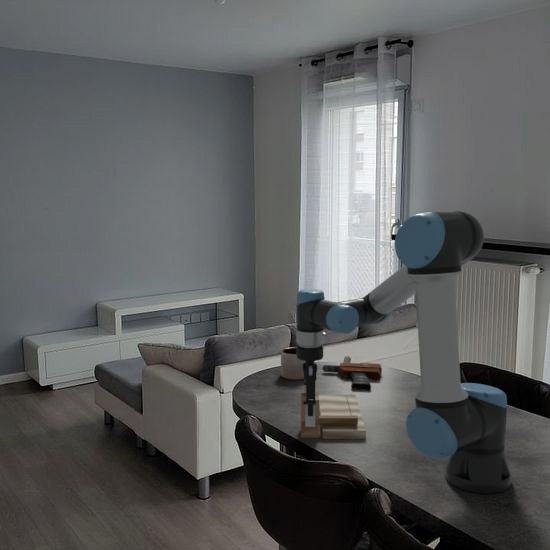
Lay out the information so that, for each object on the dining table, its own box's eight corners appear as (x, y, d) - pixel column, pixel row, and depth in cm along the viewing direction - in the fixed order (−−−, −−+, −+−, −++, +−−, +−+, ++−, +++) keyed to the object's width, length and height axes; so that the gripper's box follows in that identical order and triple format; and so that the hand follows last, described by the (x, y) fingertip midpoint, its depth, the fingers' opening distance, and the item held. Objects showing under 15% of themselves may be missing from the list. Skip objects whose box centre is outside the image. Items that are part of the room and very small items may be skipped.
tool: (380, 382, 220) (382, 354, 249) (301, 378, 225) (313, 351, 254) (379, 394, 220) (382, 365, 249) (301, 389, 226) (313, 361, 254)
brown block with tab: (358, 437, 181) (358, 400, 179) (301, 437, 181) (301, 400, 180) (356, 429, 187) (356, 393, 185) (300, 429, 187) (300, 392, 186)
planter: (278, 379, 233) (278, 354, 232) (283, 371, 244) (283, 346, 242) (308, 381, 232) (308, 355, 230) (311, 372, 242) (311, 347, 241)
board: (365, 439, 180) (366, 430, 180) (322, 438, 180) (322, 430, 180) (355, 402, 210) (355, 394, 209) (318, 402, 210) (318, 394, 209)
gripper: (326, 357, 168) (325, 434, 171) (321, 333, 193) (320, 401, 196) (297, 357, 168) (296, 434, 171) (296, 333, 193) (295, 401, 196)
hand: (309, 416), depth 184 cm, fingers open, 13 cm apart
